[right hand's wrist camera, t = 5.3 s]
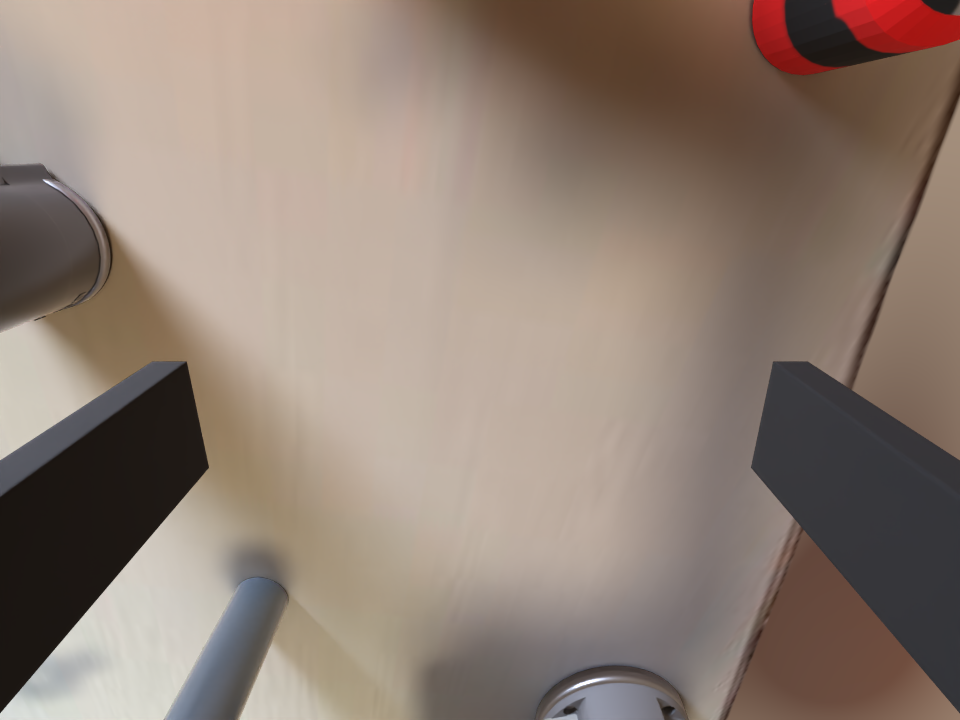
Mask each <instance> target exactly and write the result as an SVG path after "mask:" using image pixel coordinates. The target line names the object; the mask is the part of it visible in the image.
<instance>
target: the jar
mask: <svg viewBox="0 0 960 720" xmlns="http://www.w3.org/2000/svg"><path fill="white" fill-rule="evenodd" d="M287 605H288V596H287V594H286V592H285V590H284V589H283V588H282V587H281V586H280V585H279V584H278V583H276V582H274V581H272V580H270V579H267V578H261V577H255V578H249V579H246V580H244V581H243V582H241V583H240V584H239V585H238V586H237V588H236V590H235V591H234V593H233V595H232V597H231V599H230V600H229V602H228V604H227V606H226V608H225V610H224V611H223V613H222V615H221V617H220V619H219V620H218V622H217V624H216V626H215V628H214V629H213V631H212V633H211V635H210V637H209V638H208V640H207V642H206V644H205V646H204V647H203V649H202V651H201V653H200V655H199V656H198V658H197V660H196V662H195V664H194V665H193V667H192V669H191V671H190V673H189V674H188V676H187V678H186V680H185V682H184V683H183V685H182V687H181V689H180V691H179V692H178V694H177V696H176V698H175V700H174V702H173V703H172V705H171V707H170V709H169V711H168V712H167V714H166V716H165V718H164V720H240V717H241V715H242V712H243V710H244V708H245V705H246V703H247V701H248V698H249V696H250V693H251V691H252V689H253V686H254V684H255V682H256V679H257V677H258V674H259V672H260V670H261V667H262V665H263V663H264V660H265V658H266V655H267V653H268V651H269V648H270V646H271V644H272V641H273V639H274V636H275V634H276V632H277V629H278V627H279V625H280V622H281V620H282V617H283V615H284V613H285V610H286V608H287Z"/></svg>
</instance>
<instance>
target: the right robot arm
mask: <svg viewBox="0 0 960 720" xmlns="http://www.w3.org/2000/svg"><path fill="white" fill-rule="evenodd" d="M208 468H209V466H208V461H207V456H206V452H205V447H204V442H203V437H202V433H201V428H200V423H199V418H198V413H197V409H196V404H195V399H194V394H193V390H192V385H191V380H190V375H189V370H188V366H187V362H151V363H149V364H148V365H146V366H145V367H143V368H142V369H140V370H139V371H137V372H136V373H134V374H133V375H131V376H129V377H128V378H126V379H125V380H123V381H122V382H120V383H119V384H117V385H116V386H114V387H113V388H111V389H110V390H108V391H106V392H105V393H103V394H102V395H100V396H99V397H97V398H96V399H94V400H93V401H91V402H90V403H88V404H86V405H85V406H83V407H82V408H80V409H79V410H77V411H76V412H74V413H73V414H71V415H70V416H68V417H66V418H65V419H63V420H62V421H60V422H59V423H57V424H56V425H54V426H53V427H51V428H50V429H48V430H46V431H45V432H43V433H42V434H40V435H39V436H37V437H36V438H34V439H33V440H31V441H30V442H28V443H26V444H25V445H23V446H22V447H20V448H19V449H17V450H16V451H14V452H13V453H11V454H10V455H8V456H6V457H5V458H3V459H2V460H0V713H1V712H2V711H3V709H4V708H5V707H6V706H7V705H8V703H9V702H10V701H11V700H12V699H13V698H14V696H15V695H16V694H17V693H18V692H19V691H20V689H21V688H22V687H23V686H24V685H25V683H26V682H27V681H28V680H29V679H30V678H31V676H32V675H33V674H34V673H35V672H36V670H37V669H38V668H39V667H40V666H41V665H42V663H43V662H44V661H45V660H46V659H47V658H48V656H49V655H50V654H51V653H52V652H53V650H54V649H55V648H56V647H57V646H58V645H59V643H60V642H61V641H62V640H63V639H64V638H65V636H66V635H67V634H68V633H69V632H70V630H71V629H72V628H73V627H74V626H75V625H76V623H77V622H78V621H79V620H80V619H81V618H82V616H83V615H84V614H85V613H86V612H87V610H88V609H89V608H90V607H91V606H92V605H93V603H94V602H95V601H96V600H97V599H98V598H99V596H100V595H101V594H102V593H103V592H104V590H105V589H106V588H107V587H108V586H109V585H110V583H111V582H112V581H113V580H114V579H115V578H116V576H117V575H118V574H119V573H120V572H121V570H122V569H123V568H124V567H125V566H126V565H127V563H128V562H129V561H130V560H131V559H132V558H133V556H134V555H135V554H136V553H137V552H138V550H139V549H140V548H141V547H142V546H143V545H144V543H145V542H146V541H147V540H148V539H149V538H150V536H151V535H152V534H153V533H154V532H155V530H156V529H157V528H158V527H159V526H160V525H161V523H162V522H163V521H164V520H165V519H166V518H167V516H168V515H169V514H170V513H171V512H172V510H173V509H174V508H175V507H176V506H177V505H178V503H179V502H180V501H181V500H182V499H183V498H184V496H185V495H186V494H187V493H188V492H189V490H190V489H191V488H192V487H193V486H194V485H195V483H196V482H197V481H198V480H199V479H200V478H201V476H202V475H203V474H204V473H205V472H206V470H207V469H208ZM751 468H752V469H753V470H754V472H755V473H756V474H757V475H758V476H759V478H760V479H761V480H762V481H763V482H764V483H765V485H766V486H767V487H768V488H769V489H770V490H771V492H772V493H773V494H774V495H775V496H776V498H777V499H778V500H779V501H780V502H781V503H782V505H783V506H784V507H785V508H786V509H787V510H788V512H789V513H790V514H791V515H792V516H793V518H794V519H795V520H796V521H797V522H798V523H799V525H800V526H801V527H802V528H803V529H804V530H805V532H806V533H807V534H808V535H809V536H810V537H811V539H812V540H813V541H814V542H815V543H816V545H817V546H818V547H819V548H820V549H821V550H822V552H823V553H824V554H825V555H826V556H827V558H828V559H829V560H830V561H831V562H832V563H833V565H834V566H835V567H836V568H837V569H838V570H839V572H840V573H841V574H842V575H843V576H844V578H845V579H846V580H847V581H848V582H849V583H850V585H851V586H852V587H853V588H854V589H855V590H856V592H857V593H858V594H859V595H860V596H861V598H862V599H863V600H864V601H865V602H866V603H867V605H868V606H869V607H870V608H871V609H872V610H873V612H874V613H875V614H876V615H877V616H878V617H879V619H880V620H881V621H882V622H883V623H884V625H885V626H886V627H887V628H888V629H889V630H890V632H891V633H892V634H893V635H894V636H895V637H896V639H897V640H898V641H899V642H900V643H901V645H902V646H903V647H904V648H905V649H906V650H907V652H908V653H909V654H910V655H911V656H912V658H913V659H914V660H915V661H916V662H917V663H918V665H919V666H920V667H921V668H922V669H923V670H924V672H925V673H926V674H927V675H928V676H929V678H930V679H931V680H932V681H933V682H934V683H935V685H936V686H937V687H938V688H939V689H940V690H941V692H942V693H943V694H944V695H945V696H946V698H947V699H948V700H949V701H950V702H951V703H952V705H953V706H954V707H955V708H956V709H957V711H958V712H959V713H960V460H958V459H957V458H955V457H954V456H952V455H950V454H949V453H947V452H946V451H944V450H943V449H941V448H940V447H938V446H937V445H935V444H933V443H932V442H930V441H929V440H927V439H926V438H924V437H923V436H921V435H920V434H918V433H917V432H915V431H914V430H912V429H910V428H909V427H907V426H906V425H904V424H903V423H901V422H900V421H898V420H897V419H895V418H894V417H892V416H890V415H889V414H887V413H886V412H884V411H883V410H881V409H880V408H878V407H877V406H875V405H873V404H872V403H870V402H869V401H867V400H866V399H864V398H863V397H861V396H860V395H858V394H857V393H855V392H854V391H852V390H850V389H849V388H847V387H846V386H844V385H843V384H841V383H840V382H838V381H837V380H835V379H834V378H832V377H831V376H829V375H827V374H826V373H824V372H823V371H821V370H820V369H818V368H817V367H815V366H814V365H812V364H811V363H809V362H773V366H772V370H771V375H770V380H769V385H768V390H767V394H766V399H765V404H764V409H763V413H762V418H761V423H760V428H759V433H758V437H757V442H756V447H755V452H754V456H753V461H752V466H751ZM535 720H688V717H687V714H686V711H685V708H684V706H683V703H682V700H681V698H680V696H679V694H678V693H677V691H676V690H675V689H674V687H673V686H672V685H671V684H669V683H668V682H667V681H666V680H664V679H663V678H661V677H660V676H658V675H656V674H654V673H652V672H649V671H646V670H643V669H639V668H634V667H627V666H605V667H598V668H592V669H588V670H585V671H582V672H579V673H576V674H574V675H572V676H570V677H568V678H566V679H564V680H563V681H561V682H559V683H558V684H557V685H555V686H554V687H553V688H552V689H551V690H550V691H549V692H548V693H547V694H546V695H545V697H544V698H543V699H542V701H541V703H540V704H539V707H538V709H537V713H536V719H535Z"/></svg>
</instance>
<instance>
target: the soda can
mask: <svg viewBox="0 0 960 720" xmlns="http://www.w3.org/2000/svg"><path fill="white" fill-rule="evenodd" d="M752 23H753V31H754V36H755V39H756V42H757V45H758V47H759V49H760V50H761V52H762V54H763V55H764V57H765V58H766V59H767V60H768V61H769V62H770V63H771V64H772V65H774V66H775V67H777V68H778V69H780V70H781V71H784V72H787V73H790V74H797V75H808V74H815V73H820V72H824V71H829V70H833V69H838V68H842V67H847V66H851V65H856V64H860V63H864V62H869V61H873V60H878V59H882V58H887V57H891V56H896V55H900V54H905V53H909V52H914V51H918V50H923V49H927V48H931V47H936V46H940V45H945V44H947V43H950V42H953V41H956V40H959V39H960V0H754V4H753V15H752Z"/></svg>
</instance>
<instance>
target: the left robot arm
mask: <svg viewBox="0 0 960 720" xmlns="http://www.w3.org/2000/svg"><path fill="white" fill-rule="evenodd" d="M109 269H110V247H109V243H108V239H107V236H106V233H105V231H104V228H103V226H102V224H101V222H100V221H99V219H98V217H97V216H96V214H95V213H94V211H93V210H92V209H91V208H90V206H89V205H88V204H87V203H86V202H85V201H84V200H83V199H82V198H81V197H80V196H79V195H78V194H76V193H75V192H74V191H73V190H71V189H70V188H68V187H67V186H65V185H64V184H62V183H60V182H58V181H56V180H54V179H52V177H51V176H50V175H49V173H48V172H47V170H46V168H45V167H44V165H42V164H12V165H0V333H1V332H3V331H6V330H9V329H11V328H14V327H16V326H19V325H22V324H24V323H27V322H29V321H32V320H38V319H41V318H43V317H46V316H45V315H47V314H50V313H53V312H57V311H60V310H62V309H66V308H69V307H72V306H75V305H78V304H80V303H83V302H85V301H87V300H89V299H90V298H92V297H93V296H94V295H95V294H96V293H97V292H98V291H99V290H100V289H101V288H102V286H103V285H104V283H105V281H106V279H107V276H108V273H109Z"/></svg>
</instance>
